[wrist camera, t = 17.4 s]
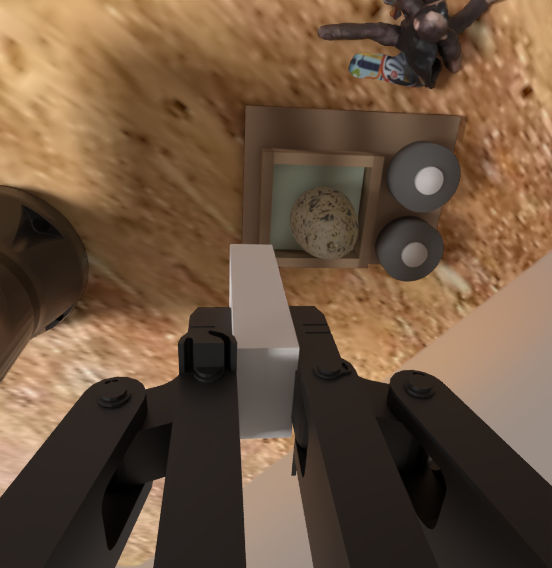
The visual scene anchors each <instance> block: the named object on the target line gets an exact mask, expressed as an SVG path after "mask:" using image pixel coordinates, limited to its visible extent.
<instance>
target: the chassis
mask: <svg viewBox="0 0 552 568" xmlns="http://www.w3.org/2000/svg"><path fill="white" fill-rule="evenodd" d="M460 120H461V117H460V116H456V115H440V114H419V113H399V112H379V111H359V110H339V109H319V108H299V107H279V106H259V105H245V139H244V180H243V220H242V244H263V245H272V246H273V250H274V253H275V257H276V261H277V265H278V267H293V268H368V264H381V265H382V266H383V268H384V269H385V270H386V272H387V273H388V274H389V275H390V276H391V277H393V278H395V279H397V280H400V281H415V280H419V279H421V278H423V277H425V276H427V275H428V274H430V273H431V272H432V271H433V270H434V269H435V268H436V266H437V265H438V264H439V262H440V260H441V258H442V254H443V240H442V237H441V235H440V234H439V232H438V231H437V226H438V221H439V217H440V212H441V207H442V206H441V207H439V208H438V209H435V210H433V211H430V212H414V211H411V210H409V209H407V208H406V207H404V206H403V205H402V204H401V203H399V202H398V201H397V200H396V199H395V198H394V197H393V196H392V195H391V193H390V192H389V189H388V186H387V180H386V176H387V170H388V167H389V164H390V162H391V160H392V159H393V157H394V156H395V154H396V153H397V152H398V151H399V150H400V149H402V148H403V147H404V146H406V145H408V144H410V143H413V142H416V141H430V142H433V143H436V144H438V145H441V146H443V147H445V148H447V149H449V150H450V151H451V152H452V153H453V152H454V148H455V143H456V138H457V134H458V129H459V124H460ZM316 187H330V188H333V189H336V190H338V191H340V192H341V193H343V194H344V195H345V196H346V197H347V198H348V199H349V200H350V202H351V203H352V205H353V206H354V208H355V211H356V214H357V217H358V236H357V240H356V243H355V245H354V247H353V248H352V250H351V251H350V252H349V253H348V254H346V255H345V256H343V257H341V258H339V259H335V260H324V259H320V258H317V257H315V256H313V255H311V254H309V253H308V252H306V251H305V250H304V249H303V248H302V247H301V246H300V245H299V244H298V243H297V241H296V240H295V238H294V236H293V234H292V231H291V227H290V213H291V210H292V207H293V205H294V203H295V201H296V200H297V199H298V197H299V196H300V195H302V194H303V193H304V192H306V191H307V190H310V189H312V188H316Z"/></svg>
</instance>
